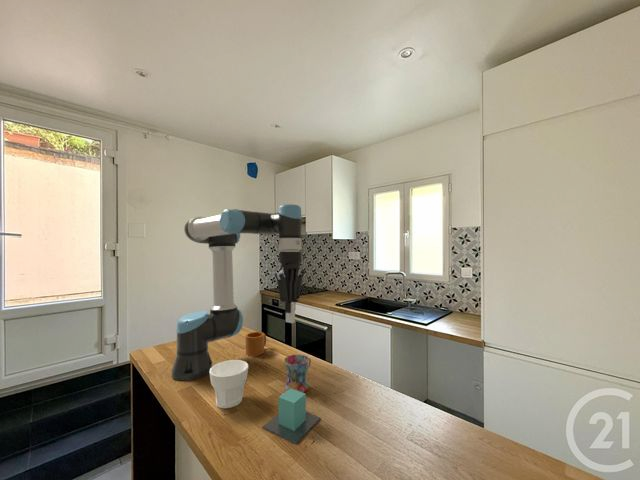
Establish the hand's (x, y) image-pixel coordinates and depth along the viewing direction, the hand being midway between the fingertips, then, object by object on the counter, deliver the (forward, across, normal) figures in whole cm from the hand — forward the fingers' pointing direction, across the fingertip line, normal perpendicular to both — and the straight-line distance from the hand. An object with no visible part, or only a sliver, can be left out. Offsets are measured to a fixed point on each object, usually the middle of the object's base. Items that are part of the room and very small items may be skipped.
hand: (290, 321), depth 89 cm
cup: (+27, -10, +18) cm, 34 cm away
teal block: (+26, -8, -7) cm, 28 cm away
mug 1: (+27, +25, +40) cm, 54 cm away
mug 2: (+27, +9, +3) cm, 28 cm away
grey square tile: (+26, -8, -7) cm, 28 cm away
